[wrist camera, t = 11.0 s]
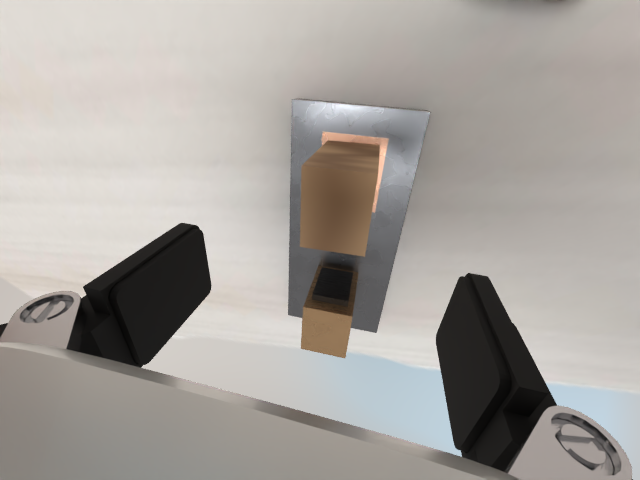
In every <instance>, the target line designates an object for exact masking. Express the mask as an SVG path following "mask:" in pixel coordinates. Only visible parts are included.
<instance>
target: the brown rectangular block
mask: <svg viewBox="0 0 640 480" xmlns="http://www.w3.org/2000/svg"><path fill="white" fill-rule="evenodd" d="M379 153H380V145H374V144H364V143H353V142H342V141H331V140H328V141H327V142H326V143H324V144H323V145H322V146H321V147H320V148H319V149H318V150H317V151H316V152H315V153H314V154H313V155H312V156H311V157H310V158H309V159H308V160H307V161H306V162H305V163H304V164H303V165H302V166H301V217H300V247H304V248H311V249H318V250H324V251H331V252H337V253H344V254H351V255H357V256H364V257H365V253H366V247H367V241H368V234H369V228H370V222H371V215H372V209H373V203H374V197H375V190H376V184H377V178H378V168H379Z"/></svg>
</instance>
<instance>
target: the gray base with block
mask: <svg viewBox="0 0 640 480" xmlns="http://www.w3.org/2000/svg"><path fill="white" fill-rule="evenodd" d="M429 116H430V112H429V111H427V110H416V109H405V108H394V107H383V106H372V105H361V104H350V103H339V102H328V101H317V100H306V99H292V129H291V185H290V242H289V299H288V315H291V316H296V317H301V318H303V320H302V338H301V349H305V350H310V351H314V352H319V353H323V354H328V355H333V356H337V357H342V358H345V357H346V351H347V345H348V340H349V334H350V328H355V329H360V330H365V331H369V332H374V333H377V329H378V324H379V320H380V316H381V312H382V308H383V304H384V300H385V296H386V292H387V288H388V284H389V279H390V275H391V271H392V267H393V263H394V259H395V255H396V251H397V247H398V243H399V239H400V235H401V230H402V226H403V222H404V218H405V214H406V210H407V206H408V202H409V198H410V194H411V190H412V186H413V181H414V177H415V173H416V169H417V165H418V161H419V157H420V153H421V149H422V145H423V141H424V136H425V132H426V128H427V124H428V120H429ZM328 140H331V141H342V142H353V143H364V144H374V145H380V153H379V168H378V178H377V184H376V190H375V197H374V203H373V209H372V215H371V222H370V228H369V234H368V241H367V247H366V253H365V257H364V256H357V255H351V254H344V253H337V252H331V251H324V250H318V249H311V248H304V247H300V217H301V166H302V165H303V164H304V163H305V162H306V161H307V160H308V159H309V158H310V157H311V156H312V155H313V154H314V153H315V152H316V151H317V150H318V149H319V148H320V147H321V146H322V145H323V144H324V143H326V142H327V141H328Z"/></svg>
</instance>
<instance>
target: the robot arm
mask: <svg viewBox="0 0 640 480" xmlns="http://www.w3.org/2000/svg"><path fill="white" fill-rule="evenodd" d="M83 288H84V290H85V292H86V296H84V297H83V298H82V299H81V297H80V296H79V295H78V294H77V293H75V292H72V291H59V292H53V293H49V294H46V295H43V296H40V297H38V298H35V299H33V300H31V301H29V302H27V303H26V304H24V305H23V306H21V307H20V308H19V309H18V310H17V311H16V312H15V313H14V314H13V316H12V318H11V319H10V321H9V323H6V324H2V325H0V480H633V479H632V466H631V464H630V462H629V459H628V457H627V455H626V453H625V452H624V450H623V449H622V448H621V446H620V445H619V443H618V442H617V441H616V440H615V439H614V438H613V437H612V436H611V435H610V434H609V433H608V432H607V431H606V430H605V429H604V428H603V427H602V426H600V425H599V424H598V423H596V422H595V421H594V420H593V419H591V418H589V417H588V416H586V415H584V414H582V413H581V412H579V411H576V410H573V409H571V408H568V407H563V406H557V404H556V403H555V401H554V399H553V397H552V395H551V393H550V391H549V389H548V387H547V385H546V383H545V381H544V379H543V378H542V376H541V374H540V372H539V370H538V368H537V366H536V364H535V362H534V360H533V358H532V356H531V355H530V353H529V351H528V349H527V347H526V345H525V343H524V341H523V339H522V337H521V335H520V333H519V332H518V330H517V328H516V326H515V325H514V324H513V323H512V322H511V320H510V318H509V316H508V314H507V312H506V310H505V308H504V306H503V304H502V302H501V300H500V298H499V297H498V295H497V293H496V291H495V289H494V287H493V285H492V283H491V281H490V279H489V278H488V277H487V276H482V275H477V274H471V273H468V274H467V275H466V276H465V277H463V276H461V277H460V278H459V279H458V282H457V284H456V287H455V289H454V292H453V294H452V297H451V299H450V302H449V304H448V307H447V309H446V312H445V314H444V317H443V319H442V322H441V324H440V327H439V329H438V332H437V335H436V346H437V351H438V357H439V363H440V368H441V373H442V379H443V385H444V391H445V396H446V402H447V407H448V413H449V419H450V424H451V429H452V435H453V441H454V445H455V447H456V448H457V449H458V450H461V453H462V457H460V456H456V455H453V454H450V453H447V452H443V451H440V450H436V449H433V448H430V447H426V446H423V445H419V444H416V443H413V442H409V441H406V440H403V439H399V438H395V437H392V436H389V435H385V434H381V433H378V432H375V431H371V430H367V429H363V428H360V427H356V426H352V425H349V424H346V423H342V422H339V421H335V420H331V419H328V418H324V417H320V416H317V415H313V414H310V413H306V412H303V411H299V410H295V409H291V408H288V407H284V406H281V405H277V404H273V403H270V402H266V401H262V400H258V399H255V398H251V397H248V396H244V395H240V394H237V393H233V392H229V391H225V390H222V389H218V388H214V387H210V386H207V385H203V384H200V383H196V382H192V381H189V380H185V379H181V378H177V377H173V376H170V375H166V374H162V373H158V372H154V371H151V370H146V369H143V368H141V367H142V366H143V365H145V364H147V363H149V362H150V361H151V360H152V359H153V357H154V356H155V355H156V354H157V353H158V352H159V350H160V349H161V348H162V347H163V346H164V345H165V344H166V343H167V341H168V340H169V339H170V338H171V337H172V336H173V335H174V333H175V332H176V331H177V330H178V329H179V328H180V327H181V325H182V324H183V323H184V322H185V321H186V320H187V318H188V317H189V316H190V315H191V314H192V313H193V312H194V310H195V309H196V308H197V307H198V306H199V305H200V304H201V302H202V301H203V300H204V299H205V298H206V297H207V296H208V294H209V293H210V290H211V280H210V274H209V267H208V261H207V255H206V249H205V242H204V236H203V232H202V231H201V230H200V229H199V227H198V226H196V225H192V224H186V223H180V224H178V225H177V226H175V227H174V228H172V229H171V230H169V231H168V232H166V233H165V234H163V235H161V236H160V237H158V238H157V239H155V240H154V241H152V242H151V243H149V244H148V245H146V246H145V247H143V248H142V249H140V250H139V251H137V252H135V253H134V254H132V255H131V256H129V257H128V258H126V259H125V260H123V261H122V262H120V263H119V264H117V265H116V266H114V267H113V268H111V269H110V270H108V271H106V272H105V273H103V274H102V275H100V276H99V277H97V278H96V279H94V280H93V281H91V282H90V283H88V284H87V285H85V286H84V287H83Z"/></svg>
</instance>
